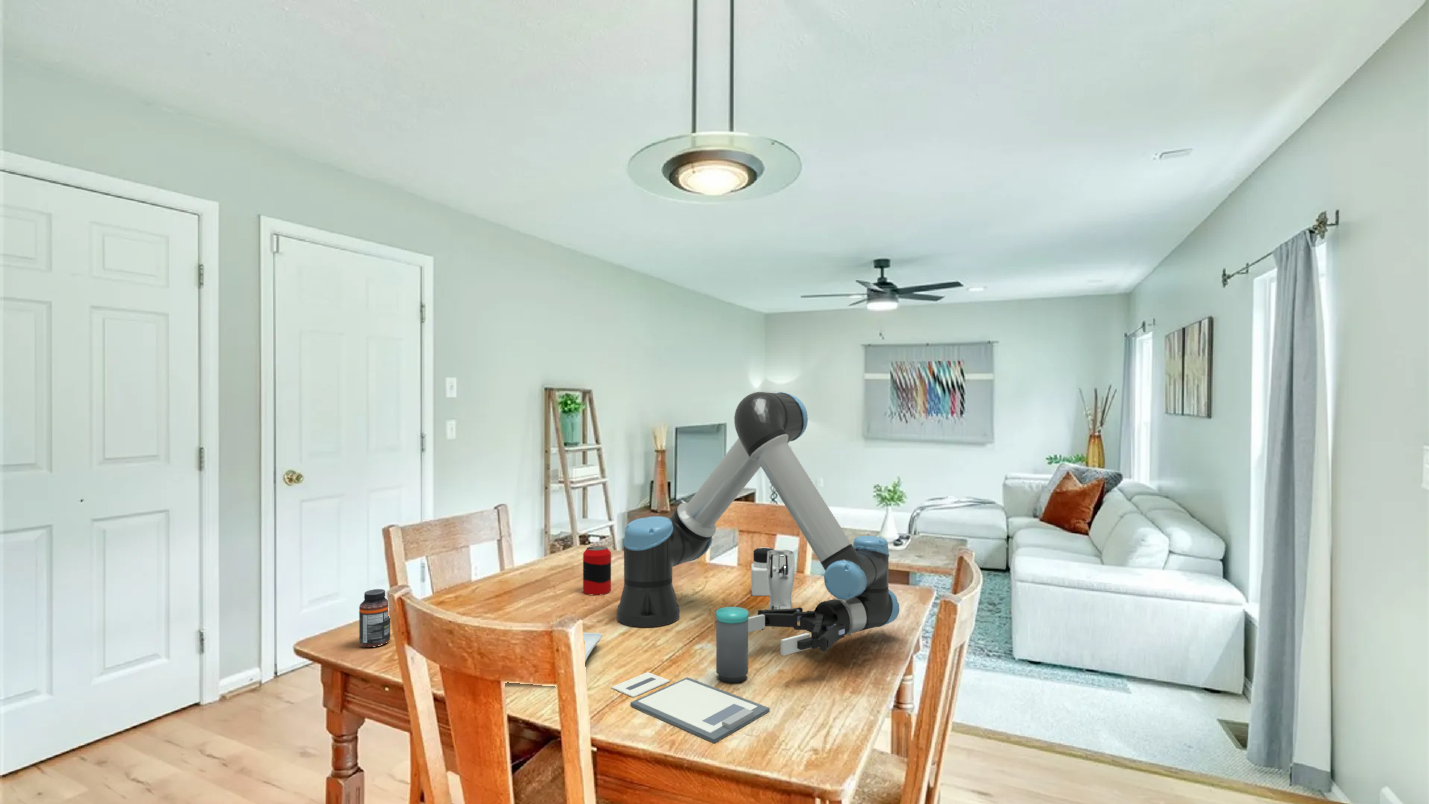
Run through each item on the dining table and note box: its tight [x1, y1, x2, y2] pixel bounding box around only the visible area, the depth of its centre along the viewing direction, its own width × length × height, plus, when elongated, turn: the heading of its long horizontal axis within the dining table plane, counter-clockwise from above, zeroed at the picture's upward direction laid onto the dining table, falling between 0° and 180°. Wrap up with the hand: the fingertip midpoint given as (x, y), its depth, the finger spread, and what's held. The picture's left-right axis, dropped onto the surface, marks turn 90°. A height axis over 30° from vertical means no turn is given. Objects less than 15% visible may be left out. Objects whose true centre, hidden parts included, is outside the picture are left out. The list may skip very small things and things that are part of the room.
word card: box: [611, 671, 671, 698], centre depth 121 cm, size 6×9×1 cm, turn 139°
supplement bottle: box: [358, 588, 391, 648], centre depth 142 cm, size 6×6×11 cm
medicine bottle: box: [750, 546, 775, 597], centre depth 182 cm, size 7×7×12 cm
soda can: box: [582, 545, 612, 596], centre depth 182 cm, size 8×8×12 cm
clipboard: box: [629, 676, 770, 744], centre depth 112 cm, size 19×14×1 cm
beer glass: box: [767, 549, 796, 610], centre depth 164 cm, size 7×7×15 cm
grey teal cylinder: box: [715, 606, 749, 685], centre depth 125 cm, size 6×6×12 cm
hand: (759, 637), depth 127 cm, fingers open, 13 cm apart
